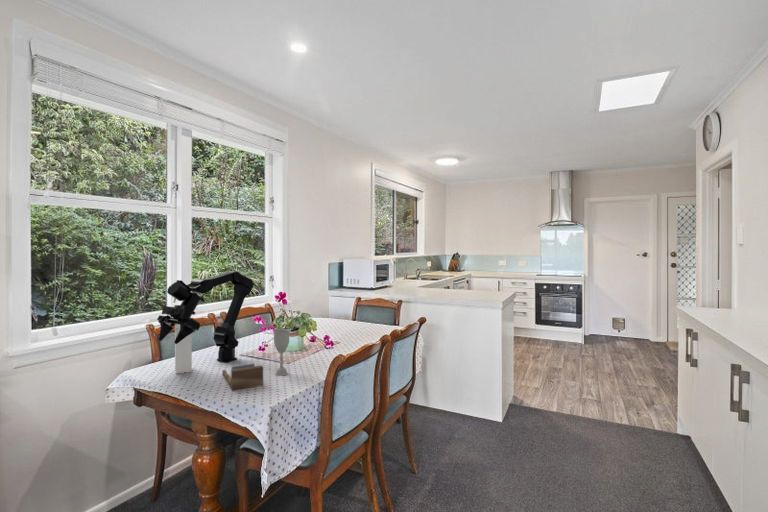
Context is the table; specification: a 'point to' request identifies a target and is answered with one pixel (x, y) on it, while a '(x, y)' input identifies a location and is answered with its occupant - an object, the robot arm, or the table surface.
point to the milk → (183, 353)
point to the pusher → (242, 366)
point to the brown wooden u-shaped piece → (244, 377)
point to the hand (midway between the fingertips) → (167, 342)
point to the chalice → (281, 347)
